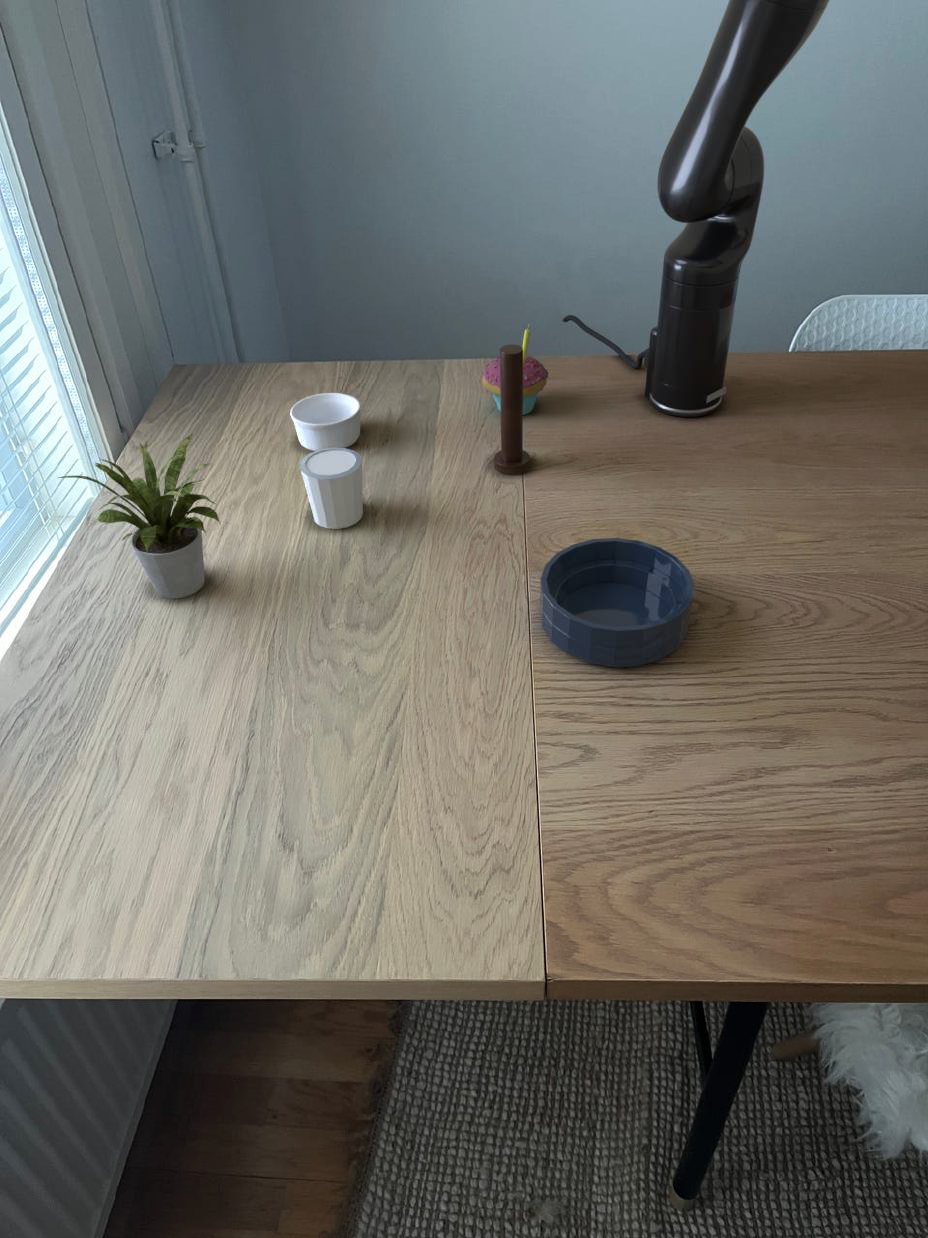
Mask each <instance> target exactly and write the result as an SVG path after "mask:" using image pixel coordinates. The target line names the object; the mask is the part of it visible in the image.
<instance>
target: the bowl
mask: <svg viewBox="0 0 928 1238" xmlns="http://www.w3.org/2000/svg"><path fill="white" fill-rule="evenodd" d="M539 585H540V588H539V590H540V592H539V617H540V623H541V628H542V630H543V632H544V634H546V636H547V638H548V639H549V640H550V642H551V643H552V644H553V645H555V646H556V647H557V648H559V649H560V650H561V651H563V652H564V653H566V654H567V655H569V656H570V657H573V658H576V659H579V660H581V661H583V662H586V663H589V664H592V665H593V664H594V665H600V666H606V667H613V668H620V667H621V668H623V667H638V666H643V665H645V664H650V663H652V662H656V661H659V660H662V659H664V658H665V657H667V656H668V655H670V654H672V653H673V652H675V651H676V650H677V649H679V647H680V645H681V644H682V642H684V640H685V639H686V637H687V636H688V631H689V626H690V625H689V624H690V618H691V612H692V606H693V599H694V592H695V586H696V585H695V582H694V579H693V577H692V575H691V572H690V570H689V568H688V567H686V565H685V564H684V563H683V562H682V561H681V560H680V559H679V558H678V557H677V556H676V555H674V554H672V553H671V552H669V551H667V550H665V549H663V548H662V547H660V546H657V545H654V544H651V543H647V542H644V541H641V540H637V539H629V538H623V537H622V538H621V537H607V538H593V539H592V538H591V539H589V540H584V541H580V542H577V543H573V544H571V545H569V546H568V547H565V548H564V549H561V550H560V551H558V552H556V553H555V554H554V555H553V556H552V557H551V558H550V559H549V561H547V563H545V565H544V567H543V570H542V573H541V575H540V584H539Z"/></svg>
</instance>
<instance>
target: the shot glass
mask: <svg viewBox="0 0 928 1238" xmlns="http://www.w3.org/2000/svg"><path fill="white" fill-rule="evenodd" d="M299 469H300V473H301V476H302V479H303V483H304V487H305V490H306V491H305V492H306V494H307V497H308V501H309V505H310V509H311V512H312V516H313V520H314V523H316V524H317V525H318V526H319V527H321V528H325V529H327V530H328V529H329V530H340V529H346V528H349V527H351V526H354V525H355V524H357V523H358V522H359V521H360V520H361V519H362V517H363V515H364V505H363V504H364V503H363V459H362V456H361V455H360V454H359V453H358V452H356V451H355V450H353V449H350V448H347V447H346V448H334V447H332V448H326V449H320V450H317V451H312V452H310V453H309V454H307V455H306V456H304V457H303V458H302V459H301V460H300V463H299Z"/></svg>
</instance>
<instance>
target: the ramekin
mask: <svg viewBox="0 0 928 1238" xmlns="http://www.w3.org/2000/svg"><path fill="white" fill-rule="evenodd" d="M289 413H290V418H291V420H292V422H293V424H294V428H295V432H296V435H297V438H298V441H299V443H300V445H301V446H302V447H303V448H305V449H307V450H310V451H312V452H315V451H317V450H320V449H326V448H332V447H334V448H346V449H347V448H349V447H350V446H352V445H353V444H355V443H356V442H357V440H358V439H359V437H360V435H361V416H360V415H361V403H360V401H359V400H358V399H357V398H356V397H354V396H352V395H350V394H346V393H341V392H323V393H316V394H312V395H309V396H306V397H304V398H302V399H300V400H298V401H297V402H296V403H294V405H292V407H291V408H290V411H289Z"/></svg>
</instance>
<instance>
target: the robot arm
mask: <svg viewBox="0 0 928 1238" xmlns="http://www.w3.org/2000/svg"><path fill="white" fill-rule="evenodd" d="M829 3H830V0H728V3H727V5H726V8H725V10H724V14H723V16H722V17H721V21H720V23H719V26H718V29H717V31H716V34H715V36H714V39H713V41H712V43H711V46H710V49H709V51H708V55H707V57H706V60H705V62H704V64H703V67H702V70H701V72H700V75H699V77H698V78H697V79H698V80H697V82H696V84H695V87H694V88H693V91H692V93H691V95H690V97H689V99H688V101H687V104H686V105H685V108H684V110H683V112H682V114H681V115H680V118H679V120H678V122H677V124H676V126H675V128H674V130H673V132H672V134H671V137H670V138H669V141H668V142H667V145H666V147H665V149H664V151H663V155H662V157H661V159H660V164H659V166H658V173H657V195H658V199H659V203H660V206H661V208H662V209H663V211H664V213H665V214H666V215H667V217H669V218H670V219H672V220H673V221H675V222H678V223H683V224H685V226H684V228H683V229H682V231H680V233H679V234H678V235H677V236H676V237H675V238H674V239H673V240H672V241H671V242H670V244H668V246H667V247H666V250H665V252H664V256H663V264H662V273H661V274H662V275H661V284H660V285H661V286H660V295H659V296H660V297H659V305H658V314H657V325H656V326H654V327H653V328H652V329H650V334H649V344H648V348H646V349H644V351H641V352H640V353H639V354H638V355H637V358H636V362H635V361H633V360H632V359H631V358H630V357H629V356H628V355H627V354H626V353H625V352H624V351H623V350H622V348H621V347H620V346H618V345H617V344H616V343H614V342H613V341H612V340H610V339H609V338H607V337H605V336H604V335H602V334H601V333H599V332H597V331H595V330H593V329H592V328H591V327H589V326H588V325H586V324H585V323H584V322H583V321H582V320H581V319H580V318H579V317H577V316H575V315H573V314H568V315H566V316H565V317H564V318H563V319H562V323H567V322H569V321H571V322H573V323H575V325H577V326H578V327H579V328H580V329H581V330H582V331H584V332H585V333H586V334H587V335H590V336H591V337H592V338H594V339H596V340H598V341H599V342H601V343H603V344H604V345H606V347H609V348H610V349H611V350H613V351H614V352H615V353H616V354H617V355H618V356H619V357H620V358H621V359H622V360H623V361H624V362H625V363H627V365H628V366H629V367H631V368H633V369H635V370H639V369H641V368H642V366H643V368H645V369H646V375H645V385H644V386H645V388H644V397H645V398H647V399H648V400H649V403H650V405H651V406H652V407H653V408H654V409H656V410H658V411H659V412H662V413H664V414H666V415H670V416H676V417H682V418H683V417H684V418H695V417H696V418H697V417H704V416H707V415H710V414H713V413H714V412H716V411H717V410H718V409H719V408H720V407H721V405H722V400H723V395H725V394H726V391H727V386H724V382H725V375H726V369H727V362H728V356H729V355H728V354H729V350H730V349H729V348H730V341H731V334H732V330H733V329H732V328H733V321H734V320H733V319H734V315H735V309H736V308H735V307H736V303H737V302H736V301H737V295H738V286H739V280H740V274H741V268H742V264H743V261H744V259H745V258H746V256H747V254H748V252H749V250H750V248H751V246H752V243H753V237H754V233H755V228H756V222H757V218H758V213H759V208H760V204H761V198H762V193H763V187H764V181H765V156H764V151H763V147H762V144H761V141H760V139H759V138H758V136H757V135H756V134H755V132H754V131H753V130H751V128H748V127H747V126H746V124H747V122H748V120H749V119H750V117H751V114H752V113H753V112H754V110H755V107H756V106H757V104H758V103H759V102H760V100H761V99H762V97H763V96H764V95H765V94H766V92H767V91H768V90H769V88H771V86H772V85H773V83H774V82H775V81H776V79H778V77H779V76H780V75H781V74H782V73H783V71H784V70H785V69H786V68H787V66H788V65H789V64H790V63H791V61H792V60H793V59H794V58H795V57H796V55H797V54H798V52H799V51H800V50H801V49H802V47H803V46H804V45H805V43H806V42H807V41H808V39H809V38H810V37H811V35H812V33H813V32H814V31H815V29H816V27H817V26H818V24H819V22H820V20H821V18H822V16H823V15H824V12H825V11H826V9H827V7H828V4H829Z"/></svg>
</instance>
